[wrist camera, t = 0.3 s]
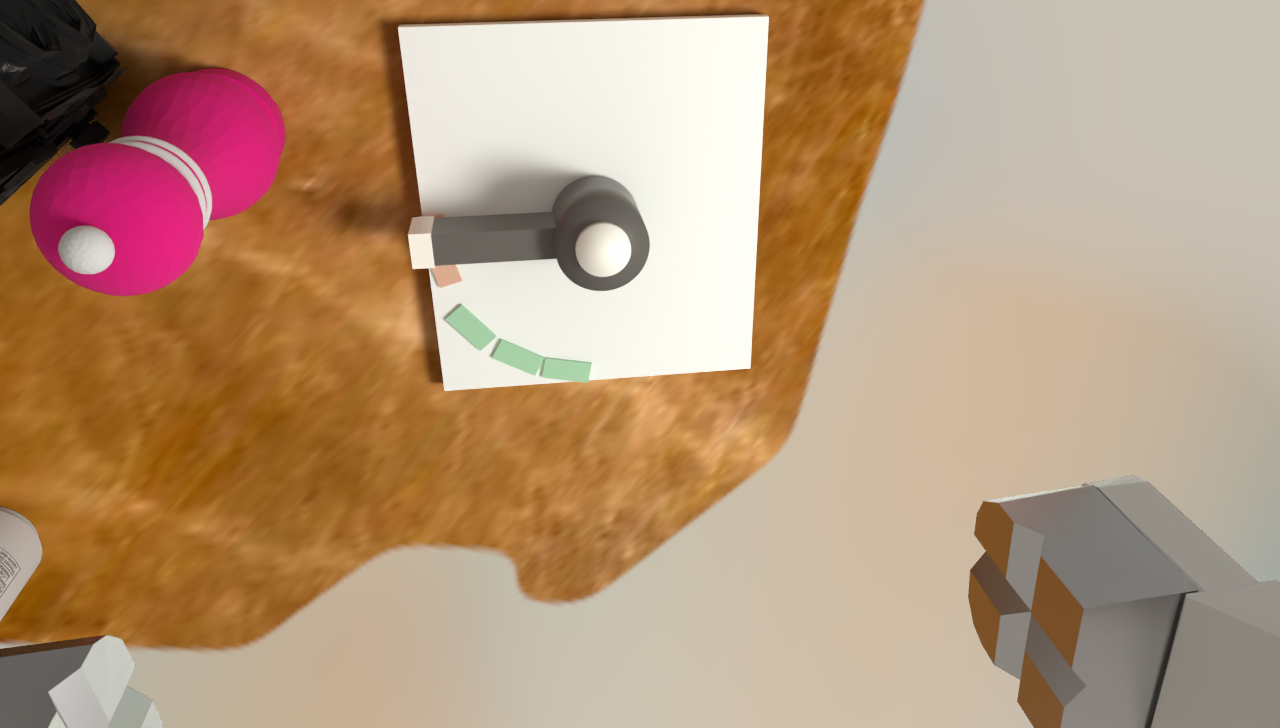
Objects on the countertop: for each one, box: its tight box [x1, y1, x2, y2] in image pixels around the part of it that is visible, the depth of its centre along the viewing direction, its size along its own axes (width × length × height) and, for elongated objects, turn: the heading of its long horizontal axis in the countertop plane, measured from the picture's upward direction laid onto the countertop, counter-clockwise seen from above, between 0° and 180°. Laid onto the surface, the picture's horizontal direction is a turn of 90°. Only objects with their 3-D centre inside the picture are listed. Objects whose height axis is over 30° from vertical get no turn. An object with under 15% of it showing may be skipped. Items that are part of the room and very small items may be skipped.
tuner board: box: [398, 14, 769, 391], centre depth 55 cm, size 22×20×1 cm
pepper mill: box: [30, 68, 285, 296], centre depth 41 cm, size 7×7×20 cm
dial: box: [408, 176, 650, 291], centre depth 51 cm, size 13×5×5 cm, turn 90°
